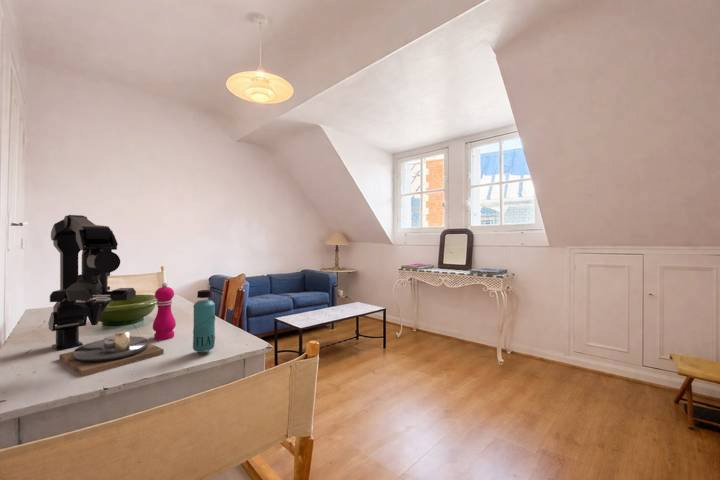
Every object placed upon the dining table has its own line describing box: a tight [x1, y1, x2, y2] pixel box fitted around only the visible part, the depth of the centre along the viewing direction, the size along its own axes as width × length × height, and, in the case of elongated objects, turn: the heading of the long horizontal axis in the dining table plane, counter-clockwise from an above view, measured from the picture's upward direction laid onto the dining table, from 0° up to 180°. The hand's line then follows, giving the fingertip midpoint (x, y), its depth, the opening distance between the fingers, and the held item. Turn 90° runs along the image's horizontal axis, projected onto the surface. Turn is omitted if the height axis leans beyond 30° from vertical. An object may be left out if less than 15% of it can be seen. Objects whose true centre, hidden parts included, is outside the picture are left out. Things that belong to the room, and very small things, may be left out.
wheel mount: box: [58, 342, 165, 377], centre depth 98 cm, size 20×20×2 cm
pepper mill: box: [152, 282, 177, 341], centre depth 117 cm, size 7×7×20 cm
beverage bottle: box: [192, 289, 216, 353], centre depth 103 cm, size 6×7×20 cm
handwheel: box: [73, 330, 149, 362], centre depth 98 cm, size 18×18×7 cm
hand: (94, 324), depth 91 cm, fingers closed
